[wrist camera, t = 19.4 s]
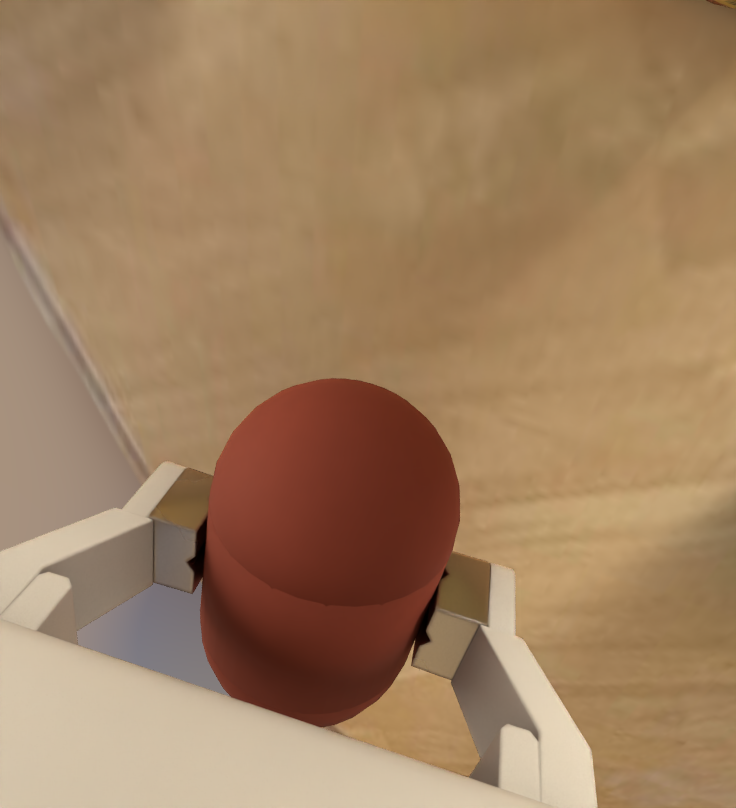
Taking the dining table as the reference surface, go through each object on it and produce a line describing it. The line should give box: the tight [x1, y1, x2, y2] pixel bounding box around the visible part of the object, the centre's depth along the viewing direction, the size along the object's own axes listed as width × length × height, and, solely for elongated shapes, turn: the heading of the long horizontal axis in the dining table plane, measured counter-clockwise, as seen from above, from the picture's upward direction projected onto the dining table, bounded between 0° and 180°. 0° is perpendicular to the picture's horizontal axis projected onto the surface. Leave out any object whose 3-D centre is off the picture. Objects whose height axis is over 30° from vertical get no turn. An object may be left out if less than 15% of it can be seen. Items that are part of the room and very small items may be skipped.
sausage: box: [200, 378, 460, 727], centre depth 12 cm, size 8×5×5 cm, turn 168°
